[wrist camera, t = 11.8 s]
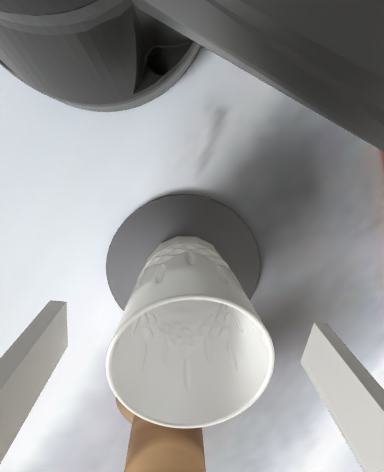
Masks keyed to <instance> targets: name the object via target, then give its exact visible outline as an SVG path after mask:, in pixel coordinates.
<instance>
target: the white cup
mask: <svg viewBox="0 0 384 472" xmlns="http://www.w3.org/2000/svg"><path fill="white" fill-rule="evenodd" d="M274 363H275V353H274V346H273V342H272V339H271V337H270V335H269V333H268V331H267V329H266V327H265V326H264V324H263V322H262V321H261V319H260V317H259V316H258V314H257V312H256V311H255V309H254V307H253V305H252V304H251V302H250V300H249V299H248V297H247V295H246V293H245V292H244V290H243V288H242V286H241V285H240V283H239V281H238V280H237V278H236V276H235V275H234V273H233V272H232V270H231V269H230V267H229V266H228V264H227V263H226V262H225V261H224V259H223V258H222V256H221V255H220V254H219V252H218V251H217V250H216V248H215V247H214V246H213V245H212V244H210V243H208V242H206V241H204V240H202V239H200V238H198V237H195V236H177V237H174V238H172V239H170V240H167V241H165V242H163V243H160V244H159V246H158V247H157V248H156V249H155V250H154V251H153V252H152V254H151V255H150V256H149V257H148V260H147V262H146V265H145V267H144V268H143V270H142V272H141V274H140V275H139V278H138V280H137V282H136V284H135V286H134V288H133V290H132V293H131V295H130V297H129V300H128V302H127V305H126V307H125V309H124V312H123V314H122V316H121V319H120V321H119V324H118V326H117V328H116V331H115V333H114V335H113V338H112V340H111V342H110V345H109V348H108V351H107V355H106V374H107V379H108V382H109V385H110V387H111V389H112V391H113V393H114V394H115V396H116V397H117V399H118V400H119V401H120V402H121V403H122V404H123V405H124V406H125V407H126V408H127V409H128V410H129V411H131V412H132V413H134V414H135V415H137V416H138V417H140V418H142V419H144V420H146V421H149V422H151V423H154V424H157V425H161V426H166V427H172V428H200V427H206V426H211V425H214V424H218V423H221V422H223V421H226V420H228V419H230V418H233V417H234V416H236V415H238V414H240V413H241V412H243V411H244V410H246V409H247V408H248V407H250V406H251V405H252V404H253V403H254V402H255V401H256V400H257V399H258V398H259V397H260V396H261V394H262V393H263V392H264V390H265V389H266V387H267V385H268V383H269V381H270V379H271V376H272V373H273V369H274Z"/></svg>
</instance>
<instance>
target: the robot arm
mask: <svg viewBox="0 0 384 472" xmlns="http://www.w3.org/2000/svg"><path fill="white" fill-rule="evenodd" d="M201 45H202V46H203V47H205V48H207V49H209V50H210V51H212V52H214V53H215V54H217V55H219V56H221V57H222V58H224V59H226V60H227V61H229V62H231V63H232V64H234V65H236V66H238V67H239V68H241V69H243V70H244V71H246V72H248V73H250V74H251V75H253V76H255V77H256V78H258V79H260V80H262V81H263V82H265V83H267V84H268V85H270V86H272V87H274V88H275V89H277V90H279V91H280V92H282V93H284V94H286V95H287V96H289V97H291V98H292V99H294V100H296V101H298V102H299V103H301V104H303V105H304V106H306V107H308V108H310V109H311V110H313V111H315V112H316V113H318V114H320V115H322V116H323V117H325V118H327V119H328V120H330V121H332V122H334V123H335V124H337V125H339V126H340V127H342V128H344V129H346V130H347V131H349V132H351V133H352V134H354V135H356V136H358V137H359V138H361V139H363V140H364V141H366V142H368V143H370V144H371V145H373V146H375V147H376V148H378V149H380V150H382V151H383V152H384V0H0V64H1V65H2V66H3V67H4V68H5V69H6V70H8V71H9V72H10V73H11V74H13V75H14V76H15V77H17V78H18V79H19V80H21V81H22V82H24V83H25V84H27V85H28V86H30V87H32V88H33V89H35V90H37V91H39V92H41V93H43V94H45V95H47V96H49V97H51V98H53V99H56V100H58V101H60V102H62V103H65V104H67V105H70V106H73V107H76V108H80V109H85V110H90V111H98V112H113V111H122V110H127V109H131V108H135V107H138V106H140V105H143V104H145V103H148V102H150V101H152V100H153V99H155V98H157V97H158V96H160V95H161V94H163V93H164V92H165V91H167V90H168V89H169V88H170V87H171V86H173V85H174V84H175V83H176V82H177V81H178V80H179V79H180V77H181V76H182V75H183V74H184V73H185V72H186V70H187V69H188V67H189V66H190V65H191V63H192V61H193V60H194V58H195V57H196V55H197V53H198V51H199V49H200V47H201ZM67 346H68V339H67V307H66V302H62V301H50V302H49V303H48V304H47V305H46V306H45V307H44V309H43V310H42V311H41V312H40V313H39V314H38V315H37V317H36V318H35V319H34V320H33V321H32V322H31V324H30V325H29V326H28V327H27V328H26V329H25V331H24V332H23V333H22V334H21V335H20V336H19V338H18V339H17V340H16V341H15V342H14V343H13V345H12V346H11V347H10V348H9V349H8V350H7V351H6V353H5V354H4V355H3V356H2V357H1V358H0V463H1V461H2V460H3V458H4V456H5V454H6V453H7V451H8V449H9V448H10V446H11V444H12V442H13V441H14V439H15V437H16V435H17V434H18V432H19V430H20V428H21V427H22V425H23V423H24V421H25V420H26V418H27V416H28V414H29V413H30V411H31V409H32V407H33V406H34V404H35V402H36V400H37V399H38V397H39V395H40V393H41V392H42V390H43V388H44V386H45V385H46V383H47V381H48V379H49V378H50V376H51V374H52V372H53V371H54V369H55V367H56V365H57V364H58V362H59V360H60V358H61V357H62V355H63V353H64V351H65V350H66V348H67ZM301 364H302V365H303V367H304V369H305V371H306V372H307V374H308V376H309V378H310V379H311V381H312V383H313V385H314V386H315V388H316V390H317V392H318V393H319V395H320V397H321V399H322V400H323V402H324V404H325V406H326V407H327V409H328V411H329V413H330V414H331V416H332V418H333V419H334V421H335V423H336V425H337V426H338V428H339V430H340V432H341V433H342V435H343V437H344V439H345V440H346V442H347V444H348V446H349V447H350V449H351V451H352V453H353V454H354V456H355V458H356V460H357V461H358V463H359V465H360V467H361V468H362V470H363V472H384V390H383V388H382V387H381V386H380V385H379V384H378V383H377V381H376V380H375V379H374V378H373V377H372V376H371V374H370V373H369V372H368V371H367V370H366V369H365V367H364V366H363V365H362V364H361V363H360V362H359V360H358V359H357V358H356V357H355V356H354V354H353V353H352V352H351V351H350V350H349V349H348V347H347V346H346V345H345V344H344V343H343V342H342V340H341V339H340V338H339V337H338V336H337V335H336V333H335V332H334V331H333V330H332V329H331V328H330V326H329V325H328V324H323V323H314V325H313V327H312V330H311V333H310V336H309V339H308V342H307V345H306V347H305V350H304V353H303V356H302V359H301Z"/></svg>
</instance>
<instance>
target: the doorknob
mask: <svg viewBox="0 0 384 472" xmlns="http://www.w3.org/2000/svg"><path fill="white" fill-rule="evenodd" d="M116 403H117V406H118V409H119V411H120V412H121V414H122V415H123V416H124V418H125V419H127V420H128V421H129V422H130V423H131V424H132V428H131V434H130V440H129V446H128V452H127V458H126V464H125V470H124V472H206V468H205V457H204V446H203V435H202V427H200V428H172V427H166V426H161V425H157V424H154V423H151V422H149V421H146V420H144V419H142V418H140V417H138V416H137V415H135V414H134V413H132V412H131V411H129V410H128V409H127V408H126V407H125V406H124V405H123V404H122V403H121V402H120V401H119V400H118V399H117V397H116Z"/></svg>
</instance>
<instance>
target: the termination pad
mask: <svg viewBox="0 0 384 472" xmlns="http://www.w3.org/2000/svg"><path fill="white" fill-rule="evenodd" d="M177 236H195V237H198V238H200V239H202V240H204V241H206V242H208V243H210V244H212V245H213V246H214V247H215V248H216V250H217V251H218V252H219V254H220V255H221V256H222V258H223V259H224V261H225V262H226V263H227V264H228V266H229V267H230V269H231V270H232V272H233V273H234V275H235V276H236V278H237V280H238V281H239V283H240V285H241V286H242V288H243V290H244V292H245V293H246V295H247V297H248V299H249V300H250V298H251V297H252V295H253V293H254V290H255V288H256V285H257V282H258V278H259V272H260V258H259V251H258V248H257V244H256V242H255V239H254V237H253V235H252V233H251V231H250V230H249V228H248V227H247V225H246V224H245V223H244V222H243V221H242V219H241V218H240V217H238V216H237V215H236V214H235V213H234V212H233V211H232V210H230V209H229V208H227V207H226V206H224V205H222V204H220V203H218V202H216V201H214V200H211V199H208V198H205V197H200V196H195V195H173V196H168V197H163V198H160V199H157V200H154V201H151V202H149V203H148V204H146V205H144V206H142V207H140V208H139V209H138V210H136V211H135V212H133V213H132V214H131V215H130V216H129V217H128V218H127V219H126V220H125V221H124V223H123V224H122V225H121V226H120V227H119V229H118V230H117V232H116V234H115V235H114V237H113V239H112V242H111V244H110V246H109V250H108V254H107V261H106V274H107V280H108V284H109V287H110V290H111V293H112V295H113V297H114V298H115V300H116V302H117V303H118V305H119V306H120V308H121V309H122V310H123V311H124V309H125V307H126V305H127V302H128V300H129V297H130V295H131V293H132V290H133V288H134V286H135V284H136V282H137V280H138V278H139V275H140V274H141V272H142V270H143V268H144V267H145V265H146V262H147V260H148V257H149V256H150V255H151V254H152V252H153V251H154V250H155V249H156V248H157V247H158V246H159V244H160V243H163V242H165V241H167V240H170V239H172V238H174V237H177Z"/></svg>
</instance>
